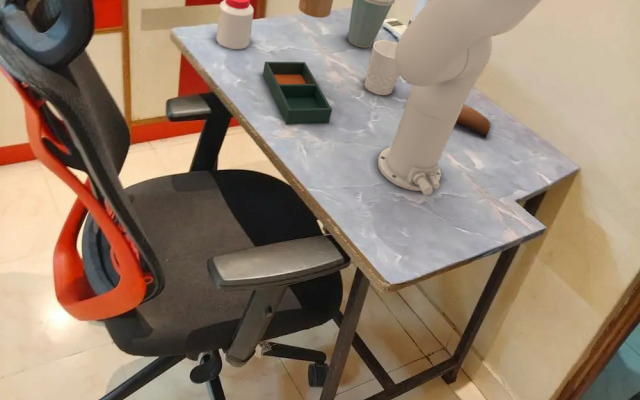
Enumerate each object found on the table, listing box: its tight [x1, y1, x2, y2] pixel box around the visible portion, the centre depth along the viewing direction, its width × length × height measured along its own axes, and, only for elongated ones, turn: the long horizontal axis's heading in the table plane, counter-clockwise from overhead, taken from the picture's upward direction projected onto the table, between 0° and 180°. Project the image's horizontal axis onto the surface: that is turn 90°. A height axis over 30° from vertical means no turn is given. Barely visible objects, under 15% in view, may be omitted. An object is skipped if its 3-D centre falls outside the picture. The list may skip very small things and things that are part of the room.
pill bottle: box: [216, 0, 255, 50], centre depth 136 cm, size 8×8×11 cm
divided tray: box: [262, 61, 333, 126], centre depth 126 cm, size 9×18×4 cm, turn 20°
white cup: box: [364, 39, 400, 96], centre depth 134 cm, size 8×8×10 cm
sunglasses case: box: [455, 104, 491, 137], centre depth 133 cm, size 18×7×7 cm
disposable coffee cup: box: [347, 0, 396, 49], centre depth 148 cm, size 11×11×15 cm
